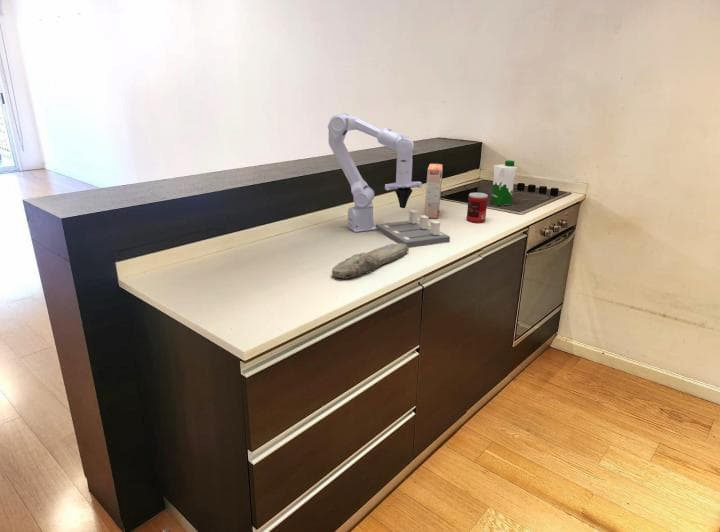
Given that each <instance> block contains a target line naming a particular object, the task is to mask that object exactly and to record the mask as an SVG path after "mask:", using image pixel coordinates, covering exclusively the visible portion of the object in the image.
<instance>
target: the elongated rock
mask: <svg viewBox="0 0 720 532" xmlns="http://www.w3.org/2000/svg"><path fill="white" fill-rule="evenodd" d="M409 249H410V247H409V248H408V247H407V245H406V244H401V243H390V244H387V245H384V246H381V247H378V248H376V249H373V250H371V251H368V252H360V253H358V254H353V255H352V256H350V257H348V258H346V259H345V260H343V261H341V262H339V263H337V264H336V265H334V266H333V268H332V270H331V275H332V276H333V277H335V278H339V279H345V280H346V279H350V278H353V277H354V278H355V277H360V276H361V275H364V274H370V273H371V272H372V271H373V270H375V269H378V268H380V267H381V266H382V265H383V264H387V263H388V264H389V263H391V262H392V261H394V260H396V259H399V258H402V257H403V256H404V255H407V252H409V251H410V250H409Z"/></svg>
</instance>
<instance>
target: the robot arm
mask: <svg viewBox="0 0 720 532" xmlns="http://www.w3.org/2000/svg"><path fill="white" fill-rule="evenodd" d="M327 129H328V146H329V147H330V149H331V151H332V153H333V154H334V157H335V158H336V160H337V162H338V164H339V166H340V168H341V170H342V171H343V174H344V175H345V177H346V179H347V181H348V184H350V190H351V191H350V192H351V194H352V197H353V203H354V206H352V207H349V208H348V211H347V228H348V229H350V230H351V231H352V232H353V233H358V232H368V231H369V232H370V231H375V230H376V231H378V230H377V228H376V226H374V204H373V200H374V199H375V190H374V189H373V188H371V187H370V186H369V185H368V183H367V182H366V181H365V179H364V178H363V177H362V175H361V174H360V171H359V170H358V168H357V165H356V164H355V162H354V160H353V158H352V156H351V154H350V151H349V150H348V149H347V147H346V144H345V143H344V141H345V138H346V135H347V133H348V132H349V131H359V132H362V133H365V134H366V135H370V136H371V137H374V138H376V140H377V142H378V144H381V145H382V146H385V147H386V148H389V149H391V150H393V151H396V153H397V154H396V155H397V158H396V173H395V182H392V183H385V184H384V190H386V191H390V190H391V191H392V190H394V193H395V194H396V197H397V200H398V204H399V207H400V208H401V209H406V207H407V204H408V200H409V198H410V196H411V194H412V193H413V188H414V189H415V188H420V189H421V188H422V185H423V182H421V181H412V179H413V150H414V147H415V144H414V141H413V139H412V138H410V137H409V136H405V135H404V134H402V133H401V134H400V133H398V132H395V131H393V129H392V128H390V127H388V128H386V127H384V128H382V129H380V128H378V127H376V126H374V125H372V124H371V123H368V122H366V121H364V120H362V119H360V118H358V117H356V116H354V115H349V114H348V113H345V112H343V113H340V114H335V115H333V116H332V117H331V118H330V120H329V122H328V125H327Z"/></svg>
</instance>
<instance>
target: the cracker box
mask: <svg viewBox="0 0 720 532" xmlns="http://www.w3.org/2000/svg"><path fill="white" fill-rule="evenodd" d="M442 181H443V164H441V163H429V165H428V167H427V174H426V186H425V188H426V189H425V203H424V215H425V216H427V217H429V219H434V220H435V219H438V217H439V212H440V204H441V192H442Z"/></svg>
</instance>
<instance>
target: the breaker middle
mask: <svg viewBox="0 0 720 532" xmlns="http://www.w3.org/2000/svg"><path fill="white" fill-rule="evenodd" d="M418 218H419V221H420V222H419V227H420V228H422V229H428V226H429V219H430V218H429V217H427V216H425V215H419V217H418Z"/></svg>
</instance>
